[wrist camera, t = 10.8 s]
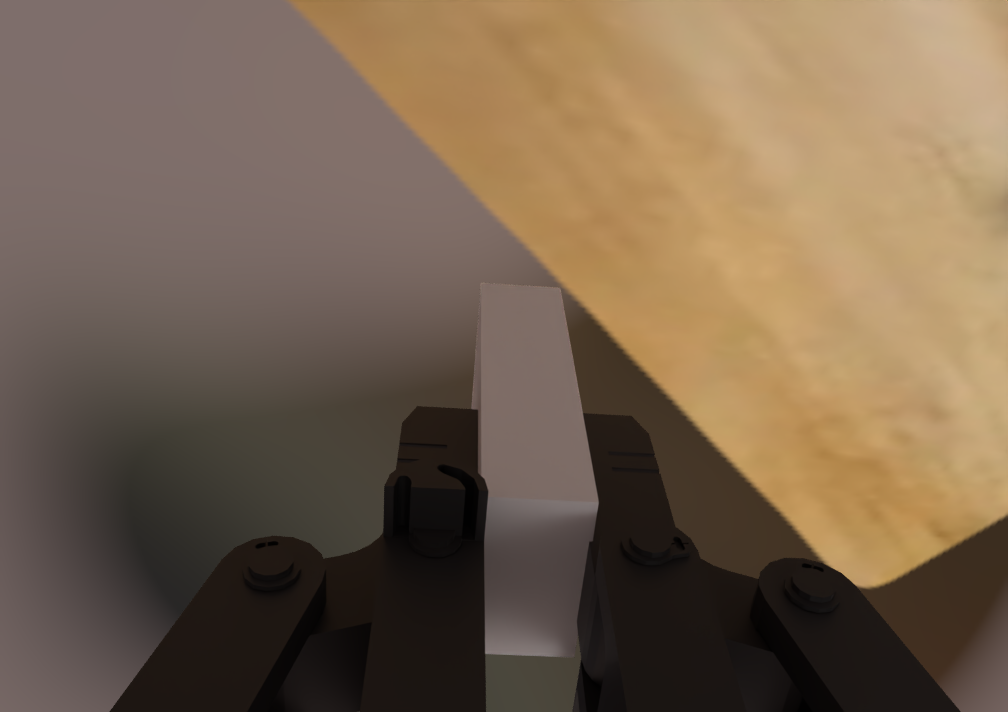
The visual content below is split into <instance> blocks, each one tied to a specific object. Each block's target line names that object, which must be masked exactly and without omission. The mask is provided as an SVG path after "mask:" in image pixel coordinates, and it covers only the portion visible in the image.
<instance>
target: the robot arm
mask: <svg viewBox="0 0 1008 712" xmlns="http://www.w3.org/2000/svg"><path fill="white" fill-rule="evenodd" d="M473 383H474V384H473V396H472V409H458V408H440V407H421V406H417V407H416V408H415V409H414V411H413V412H412V413H411V414H410V415H409V416H408V417H407V418H406V419H405V420H404V421H403V423H402V429H401V436H400V445H399V452H398V460H397V466H396V470H395V471H394V472H392V473H391V474H390V475H389V478H388V480H387V482H386V484H385V486H384V487H385V488H384V491H385V492H384V529H383V533H382V535H381V536H380V537H379V538H378V539H377V540H375V541H374V542H373V543H372V544H371V545H369V546H367V547H365V548H362V549H360V550H358V551H356V552H352V553H349V554H345V555H341V556H336V557H331V558H325V559H323V557H322V554H321V553H320V552H319V551H318V550H317V549H315V548H314V547H313V546H312V545H311V544H310V543H307V542H304V541H302V540H299V539H296V538H294V537H282V536H270V537H264V538H258V539H253V540H251V541H248V542H246V543H244V544H242V545H240V546H237V547H235V548H234V549H233V550H232V551H231V552H230V553H228V554H227V555H226V556H225V557H224V558H223V559H222V560H221V562H220V563H219V564H218V565H217V567H216V568H215V570H214V571H213V572H212V574H211V575H210V576H209V578H208V579H207V580H206V582H205V583H204V584H203V586H202V587H201V588H200V590H199V591H198V593H197V594H196V595H195V597H194V598H193V599H192V601H191V602H190V603H189V605H188V606H187V608H186V609H185V610H184V611H183V613H182V614H181V616H180V617H179V618H178V620H177V621H176V622H175V624H174V625H173V626H172V628H171V629H170V631H169V632H168V633H167V635H166V636H165V637H164V639H163V640H162V641H161V643H160V644H159V645H158V647H157V648H156V649H155V651H154V652H153V654H152V655H151V656H150V658H149V659H148V661H147V662H146V663H145V664H144V666H143V667H142V668H141V670H140V671H139V672H138V674H137V675H136V677H135V678H134V679H133V681H132V682H131V683H130V685H129V686H128V687H127V689H126V690H125V692H124V693H123V694H122V696H121V697H120V698H119V700H118V701H117V702H116V704H115V705H114V706H113V708H112V709H111V711H110V712H357V711H360V712H486V687H485V686H486V684H485V683H486V680H485V679H486V678H485V654H502V655H527V656H552V657H574V655H575V649H576V643H577V636H579V644H580V652H581V663H580V669H579V675H578V681H577V688H576V693H575V700H574V706H573V712H960V711H959V709H958V708H957V707H956V706H955V705H954V703H953V702H952V701H951V700H950V698H948V696H947V695H946V694H945V692H944V691H943V690H942V689H941V688H940V686H939V685H938V684H937V683H936V682H935V680H934V679H933V678H932V677H931V676H930V675H929V673H928V672H927V671H926V670H925V668H924V667H923V666H922V665H921V664H920V662H919V661H918V660H917V659H916V658H915V657H914V655H913V654H912V653H911V652H910V650H909V649H908V648H907V647H906V646H905V644H903V642H902V641H901V640H900V638H899V637H898V636H897V635H896V634H895V632H894V631H893V630H892V629H891V627H890V626H889V625H888V624H887V623H886V621H885V620H884V619H883V618H882V617H881V616H880V614H879V613H878V612H877V611H876V610H875V608H874V607H873V606H872V605H871V604H870V602H869V601H868V600H867V599H866V598H865V596H864V595H863V594H862V593H861V591H860V590H859V589H858V588H857V587H856V586H855V585H854V584H853V583H852V582H851V581H850V580H849V579H848V578H846V577H845V576H844V575H843V574H842V573H840V572H838V571H836V570H835V569H833V568H831V567H829V566H827V565H825V564H823V563H819V562H815V561H812V560H807V559H804V558H783V559H780V560H777V561H773V562H770V563H769V564H768V565H767V566H766V567H765V568H764V569H763V570H762V571H761V572H760V576H759V579H756V578H753V577H749V576H745V575H742V574H738V573H734V572H731V571H727V570H725V569H722V568H719V567H716V566H713V565H712V564H710V563H708V562H706V561H704V560H702V559H700V556H699V552H698V550H697V549H696V547H695V545H694V543H693V542H692V540H691V539H690V538H689V537H688V536H687V535H685V534H684V533H683V532H682V531H680V530H679V529H678V528H676V527H675V524H674V520H673V516H672V513H671V509H670V506H669V502H668V499H667V496H666V492H665V488H664V485H663V481H662V478H661V474H659V468H658V464H657V460H656V458H655V457H654V455H655V454H654V450H653V446H652V443H651V439H650V436H649V434H648V433H647V431H646V430H644V428H642V426H640V424H639V423H638V422H637V421H636V420H635V419H634V418H633V417H632V416H623V415H622V416H621V415H604V414H585V413H583V412H582V406H581V401H580V396H579V390H578V384H577V378H576V373H575V368H574V362H573V357H572V351H571V346H570V340H569V334H568V329H567V323H566V317H565V312H564V307H563V301H562V295H561V289H560V288H556V287H539V286H524V285H509V284H493V283H481V289H480V301H479V315H478V328H477V342H476V355H475V369H474V382H473Z"/></svg>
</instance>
